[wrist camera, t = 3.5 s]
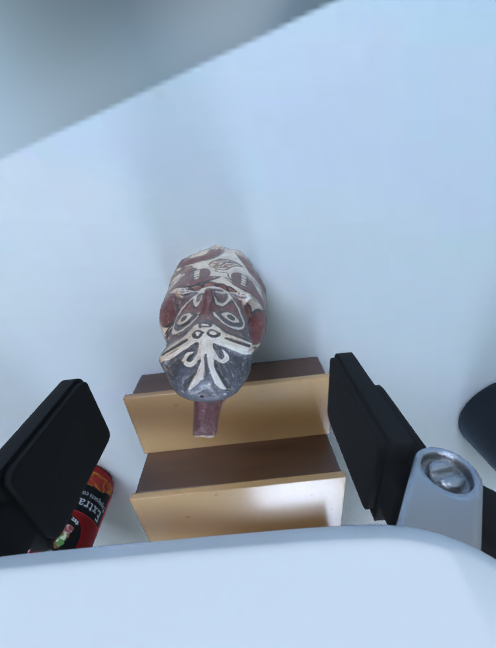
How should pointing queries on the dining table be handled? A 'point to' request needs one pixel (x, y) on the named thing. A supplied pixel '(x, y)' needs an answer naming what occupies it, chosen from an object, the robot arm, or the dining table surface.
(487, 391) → the mug
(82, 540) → the canned food
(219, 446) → the step rack
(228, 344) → the figurine
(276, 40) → the dining table surface
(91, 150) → the dining table surface
